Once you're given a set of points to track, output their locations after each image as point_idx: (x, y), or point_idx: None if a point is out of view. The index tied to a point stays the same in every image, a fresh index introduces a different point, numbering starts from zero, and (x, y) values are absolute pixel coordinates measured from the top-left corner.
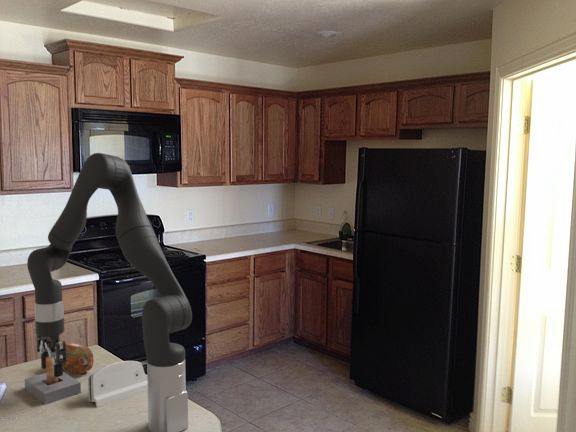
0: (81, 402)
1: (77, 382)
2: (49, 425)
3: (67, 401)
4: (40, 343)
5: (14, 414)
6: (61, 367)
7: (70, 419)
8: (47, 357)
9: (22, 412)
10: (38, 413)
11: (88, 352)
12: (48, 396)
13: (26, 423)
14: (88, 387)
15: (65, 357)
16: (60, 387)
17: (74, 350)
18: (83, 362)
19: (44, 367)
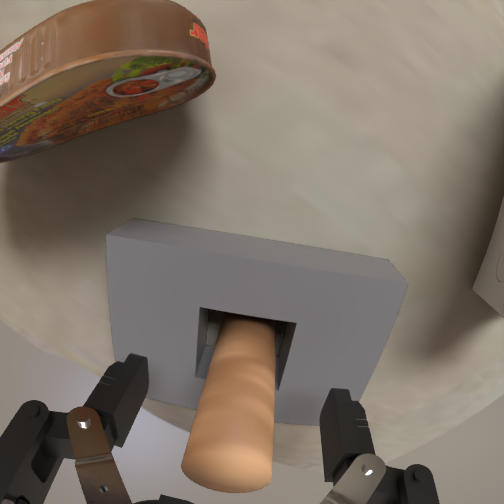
0: (453, 312)
1: (392, 292)
2: (448, 425)
3: (398, 340)
4: (39, 488)
5: (308, 455)
6: (369, 441)
7: (482, 384)
8: (201, 481)
9: (318, 443)
10: (371, 425)
11: (152, 27)
12: None
13: (384, 453)
14: (491, 306)
15: (434, 498)
16: (358, 373)
17: (24, 102)
18: (154, 82)
19: (146, 384)
